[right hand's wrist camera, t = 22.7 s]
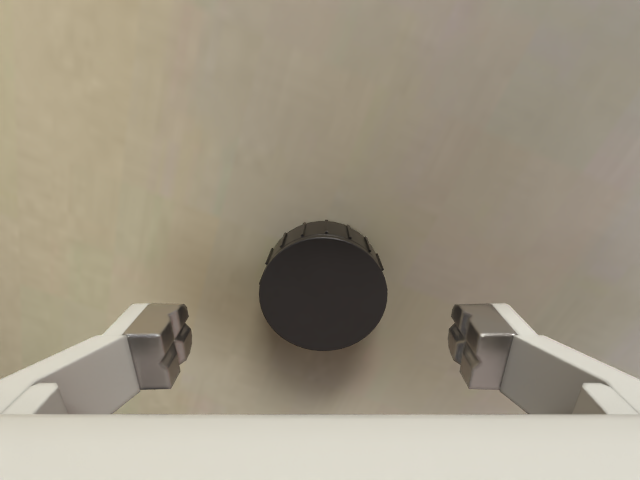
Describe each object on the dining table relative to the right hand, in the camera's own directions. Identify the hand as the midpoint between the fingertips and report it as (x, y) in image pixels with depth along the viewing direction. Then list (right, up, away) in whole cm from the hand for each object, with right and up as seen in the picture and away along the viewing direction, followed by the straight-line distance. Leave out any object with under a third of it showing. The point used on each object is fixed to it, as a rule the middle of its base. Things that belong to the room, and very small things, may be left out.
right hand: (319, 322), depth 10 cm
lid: (0, 0, +4) cm, 4 cm away
